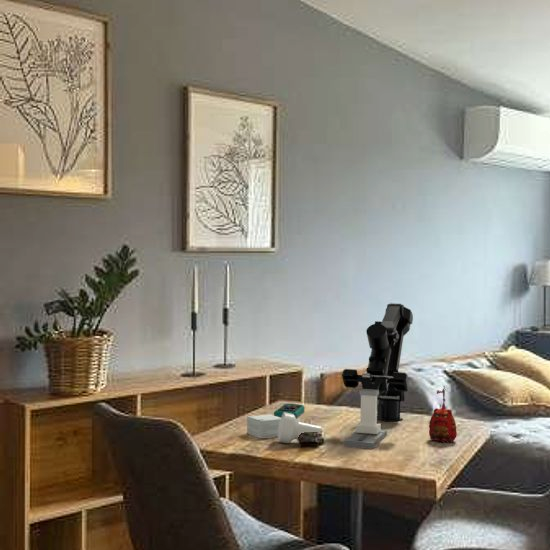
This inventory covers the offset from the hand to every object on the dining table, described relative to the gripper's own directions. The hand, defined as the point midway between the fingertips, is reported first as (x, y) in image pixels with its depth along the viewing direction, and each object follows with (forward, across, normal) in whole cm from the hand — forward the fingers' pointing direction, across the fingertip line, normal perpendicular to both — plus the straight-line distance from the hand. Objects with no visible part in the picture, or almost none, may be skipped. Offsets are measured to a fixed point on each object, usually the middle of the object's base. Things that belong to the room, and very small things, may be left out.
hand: (370, 403), depth 224 cm
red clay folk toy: (+4, -20, -10) cm, 22 cm away
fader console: (+10, 0, -3) cm, 11 cm away
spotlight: (+18, +17, +4) cm, 25 cm away
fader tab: (+7, 0, -4) cm, 8 cm away
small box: (+13, +28, -1) cm, 31 cm away
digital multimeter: (-9, +31, -23) cm, 40 cm away
